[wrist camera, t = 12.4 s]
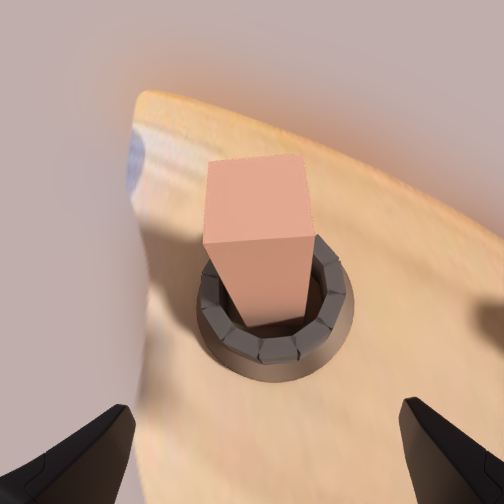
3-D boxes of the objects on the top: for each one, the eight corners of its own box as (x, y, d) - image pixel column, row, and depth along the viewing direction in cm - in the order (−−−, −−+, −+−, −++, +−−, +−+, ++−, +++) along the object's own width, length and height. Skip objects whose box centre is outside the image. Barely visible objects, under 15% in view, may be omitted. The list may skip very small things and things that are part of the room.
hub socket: (253, 413, 21) (245, 415, 17) (174, 288, 26) (154, 266, 22) (381, 318, 23) (399, 300, 19) (291, 214, 28) (290, 182, 24)
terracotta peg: (302, 325, 23) (315, 235, 11) (247, 328, 23) (202, 243, 11) (298, 275, 24) (302, 153, 13) (247, 278, 25) (209, 161, 13)
